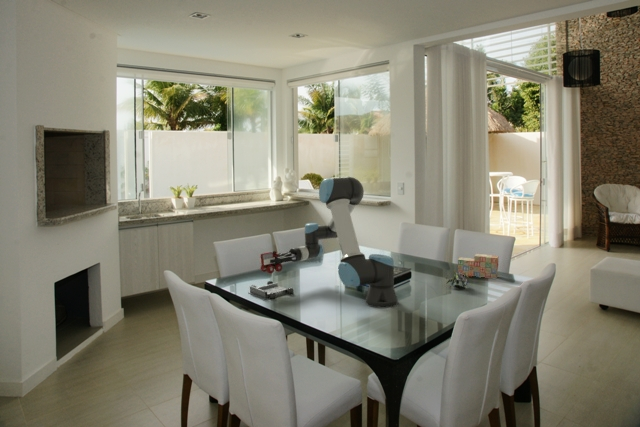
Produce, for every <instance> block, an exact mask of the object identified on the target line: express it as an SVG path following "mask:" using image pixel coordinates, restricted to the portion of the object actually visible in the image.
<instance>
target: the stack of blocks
mask: <svg viewBox="0 0 640 427" xmlns="http://www.w3.org/2000/svg"><path fill="white" fill-rule="evenodd" d="M473 256H474V258H471V257H459V258H458V259H457V271H458V272H460V273H461V274H463V275H464V272H466V274H467V275H468V276H469V277H472V276H476V277H475V278H481V277H485V278H484V279H490V278H497V279H498V277H497V276H498V275H499V257H500V256H499V255H493V254H483V253H482V254H481V253H475V255H473Z"/></svg>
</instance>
